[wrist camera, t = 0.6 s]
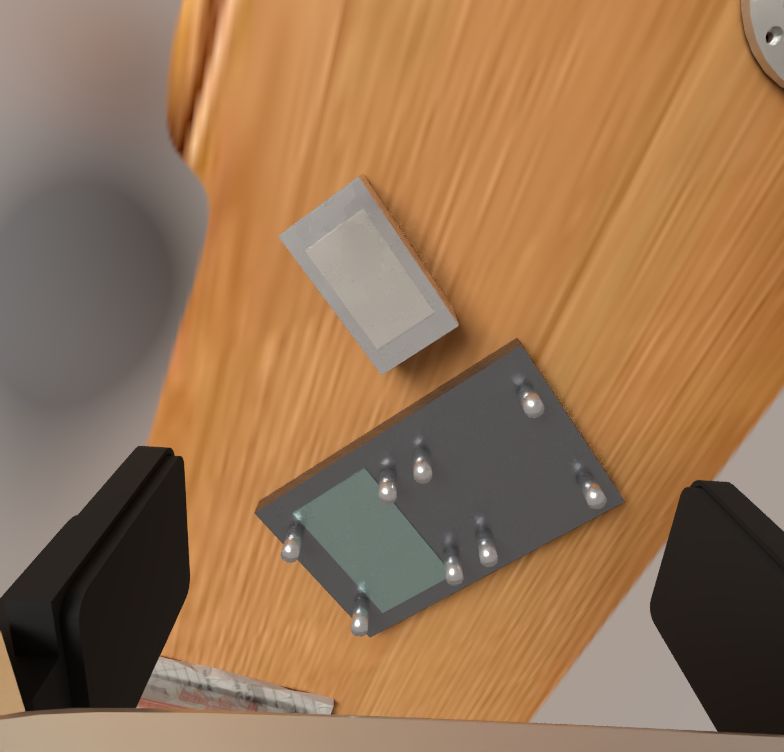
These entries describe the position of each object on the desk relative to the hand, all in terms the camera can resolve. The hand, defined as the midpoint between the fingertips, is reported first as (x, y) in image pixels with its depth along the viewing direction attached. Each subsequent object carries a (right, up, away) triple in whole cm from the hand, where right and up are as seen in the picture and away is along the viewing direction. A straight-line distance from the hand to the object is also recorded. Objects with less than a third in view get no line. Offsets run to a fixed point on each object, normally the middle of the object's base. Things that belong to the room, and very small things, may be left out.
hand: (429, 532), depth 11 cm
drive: (-2, +10, +26) cm, 28 cm away
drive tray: (+3, -6, +32) cm, 32 cm away
